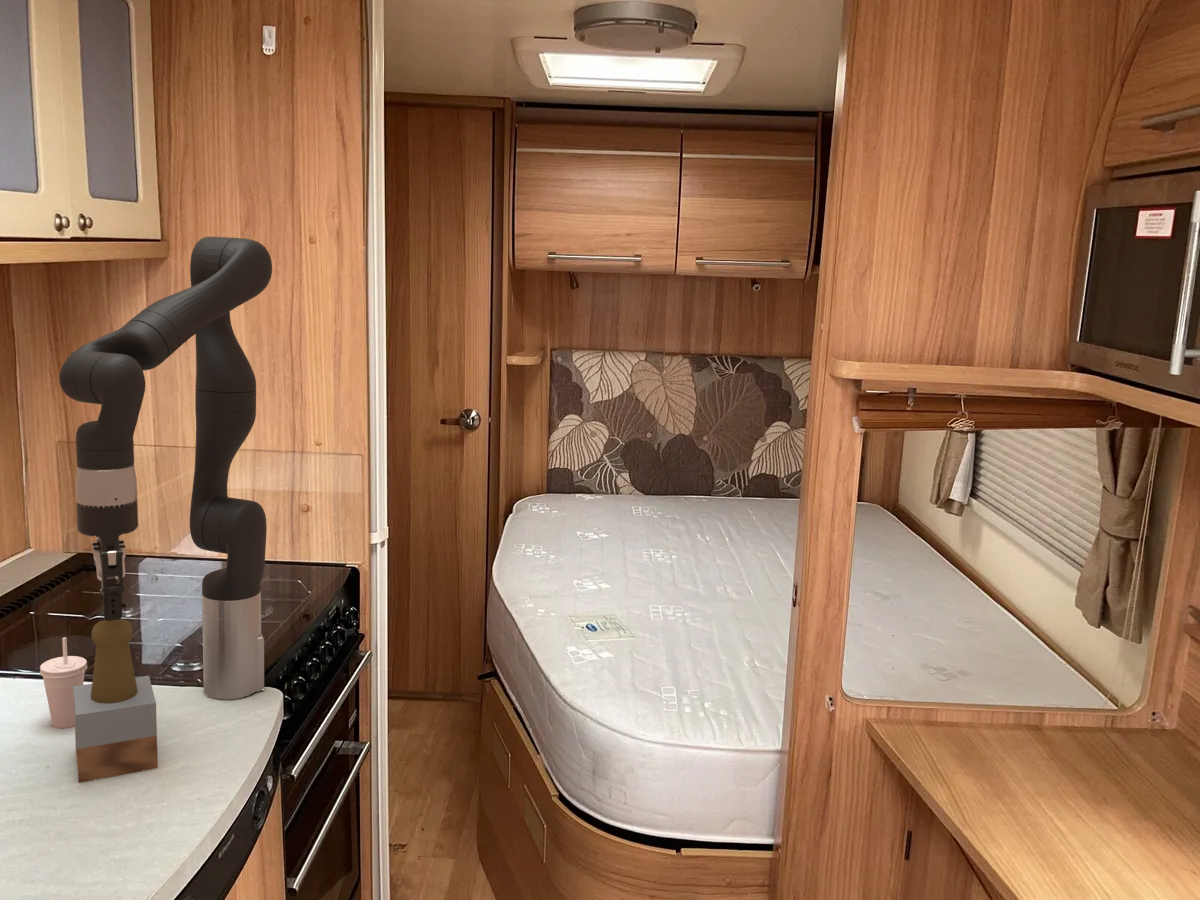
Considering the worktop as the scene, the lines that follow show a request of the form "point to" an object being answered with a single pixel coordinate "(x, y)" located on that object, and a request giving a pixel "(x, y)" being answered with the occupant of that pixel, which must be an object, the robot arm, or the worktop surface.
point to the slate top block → (114, 716)
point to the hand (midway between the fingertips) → (111, 609)
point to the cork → (113, 662)
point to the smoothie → (62, 685)
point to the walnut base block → (116, 758)
